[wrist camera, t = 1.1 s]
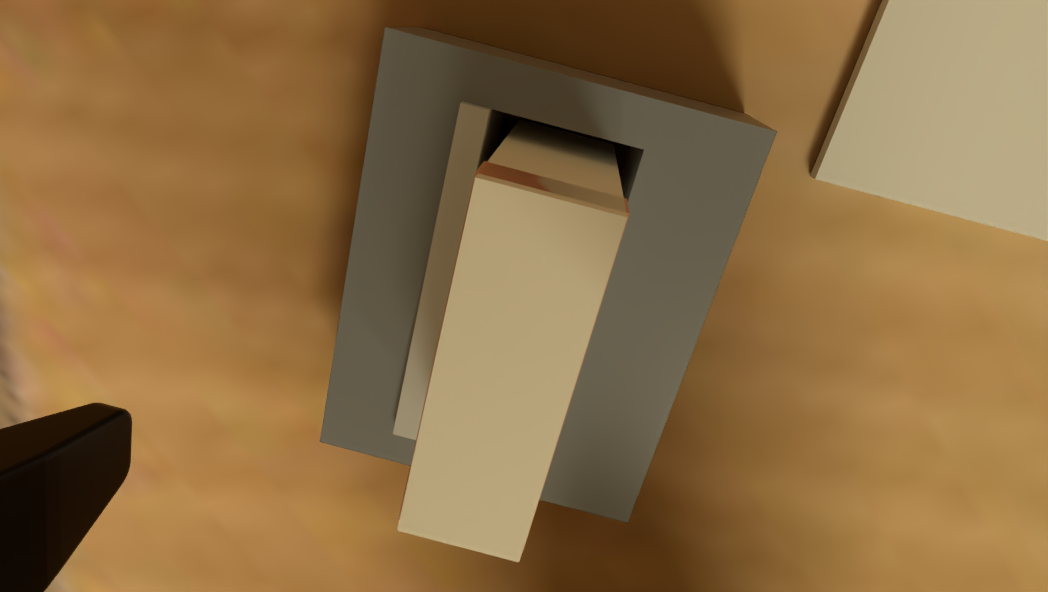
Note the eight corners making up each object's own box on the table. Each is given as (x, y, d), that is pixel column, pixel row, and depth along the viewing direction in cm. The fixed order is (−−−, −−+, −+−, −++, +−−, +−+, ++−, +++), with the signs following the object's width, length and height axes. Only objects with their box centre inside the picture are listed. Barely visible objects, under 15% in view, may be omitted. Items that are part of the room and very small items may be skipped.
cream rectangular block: (544, 385, 20) (521, 563, 13) (459, 363, 20) (394, 529, 13) (615, 145, 17) (630, 218, 11) (517, 119, 17) (472, 176, 10)
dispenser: (622, 454, 20) (628, 531, 17) (357, 384, 20) (315, 448, 17) (745, 113, 16) (780, 133, 13) (419, 27, 16) (380, 26, 13)
